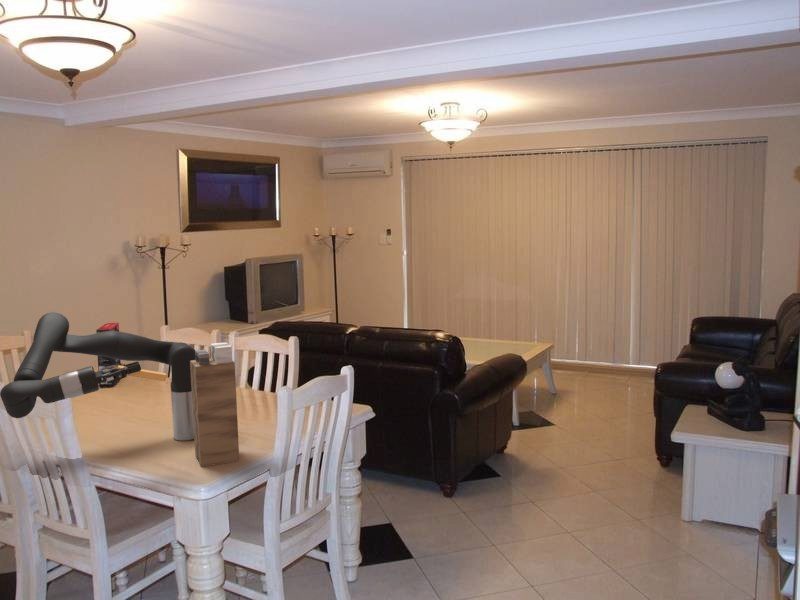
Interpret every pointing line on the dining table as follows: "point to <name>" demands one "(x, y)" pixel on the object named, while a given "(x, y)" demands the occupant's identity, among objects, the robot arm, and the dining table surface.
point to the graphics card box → (104, 360)
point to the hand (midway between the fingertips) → (139, 365)
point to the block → (147, 374)
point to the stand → (214, 405)
